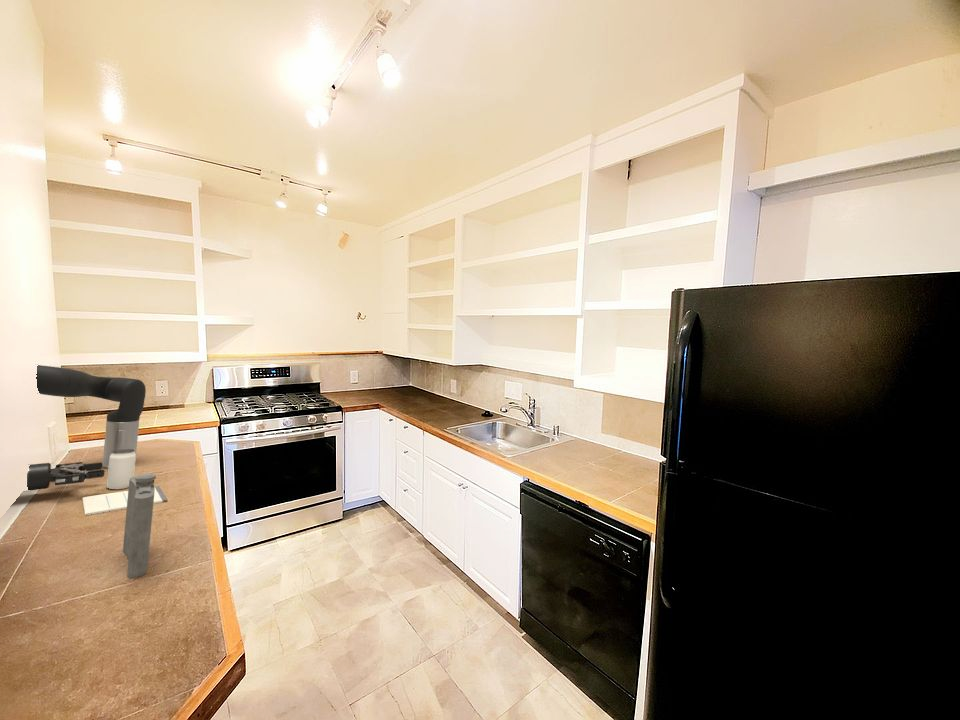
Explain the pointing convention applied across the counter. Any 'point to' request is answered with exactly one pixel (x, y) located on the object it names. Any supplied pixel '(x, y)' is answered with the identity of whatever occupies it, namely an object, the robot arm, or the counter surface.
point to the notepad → (114, 501)
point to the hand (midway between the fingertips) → (103, 469)
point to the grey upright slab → (138, 523)
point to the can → (121, 468)
